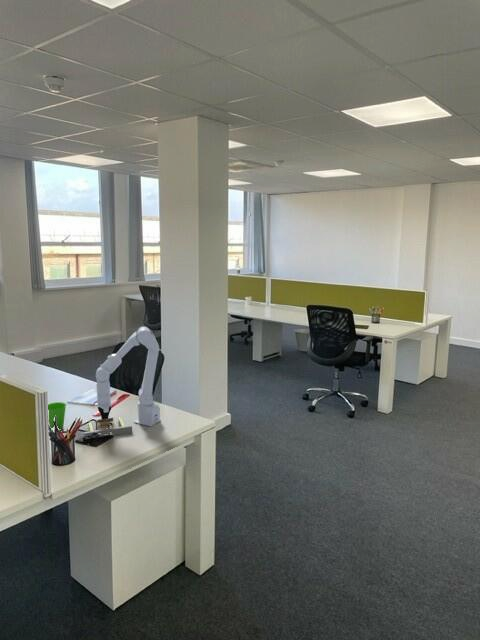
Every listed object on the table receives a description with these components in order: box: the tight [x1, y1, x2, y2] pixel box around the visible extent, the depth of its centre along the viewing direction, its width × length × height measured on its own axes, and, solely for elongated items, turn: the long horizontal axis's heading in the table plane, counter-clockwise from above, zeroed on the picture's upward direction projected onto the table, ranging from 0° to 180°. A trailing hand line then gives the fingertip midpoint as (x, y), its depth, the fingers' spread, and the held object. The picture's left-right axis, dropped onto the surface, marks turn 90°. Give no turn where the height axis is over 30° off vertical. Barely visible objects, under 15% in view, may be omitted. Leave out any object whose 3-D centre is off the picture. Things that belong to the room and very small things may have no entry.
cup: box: [47, 401, 67, 430], centre depth 209 cm, size 9×9×11 cm
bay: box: [83, 417, 133, 438], centre depth 209 cm, size 14×20×3 cm
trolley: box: [96, 417, 117, 430], centre depth 209 cm, size 10×7×4 cm
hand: (105, 422), depth 215 cm, fingers closed
